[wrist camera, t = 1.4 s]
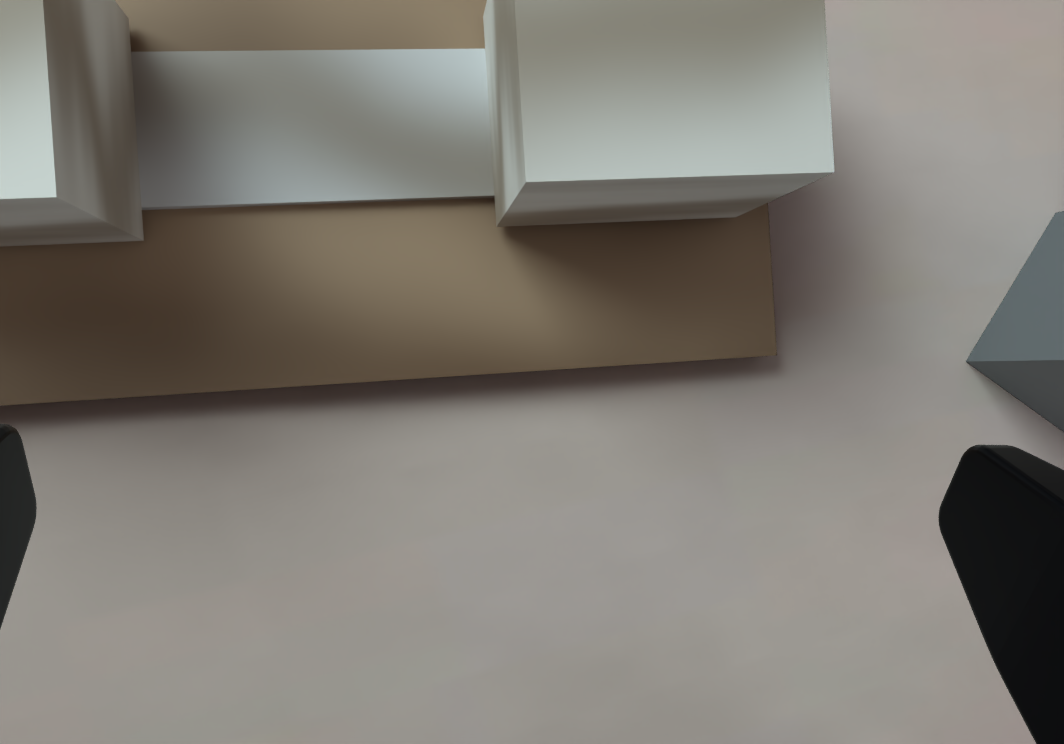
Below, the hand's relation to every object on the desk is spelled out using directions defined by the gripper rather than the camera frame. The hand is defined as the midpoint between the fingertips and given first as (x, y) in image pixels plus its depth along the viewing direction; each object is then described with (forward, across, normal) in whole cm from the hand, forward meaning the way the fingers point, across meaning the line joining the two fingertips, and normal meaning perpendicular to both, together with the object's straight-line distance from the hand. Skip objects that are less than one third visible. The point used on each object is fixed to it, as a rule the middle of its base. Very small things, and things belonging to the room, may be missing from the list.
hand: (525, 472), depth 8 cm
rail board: (+15, +3, +2) cm, 16 cm away
